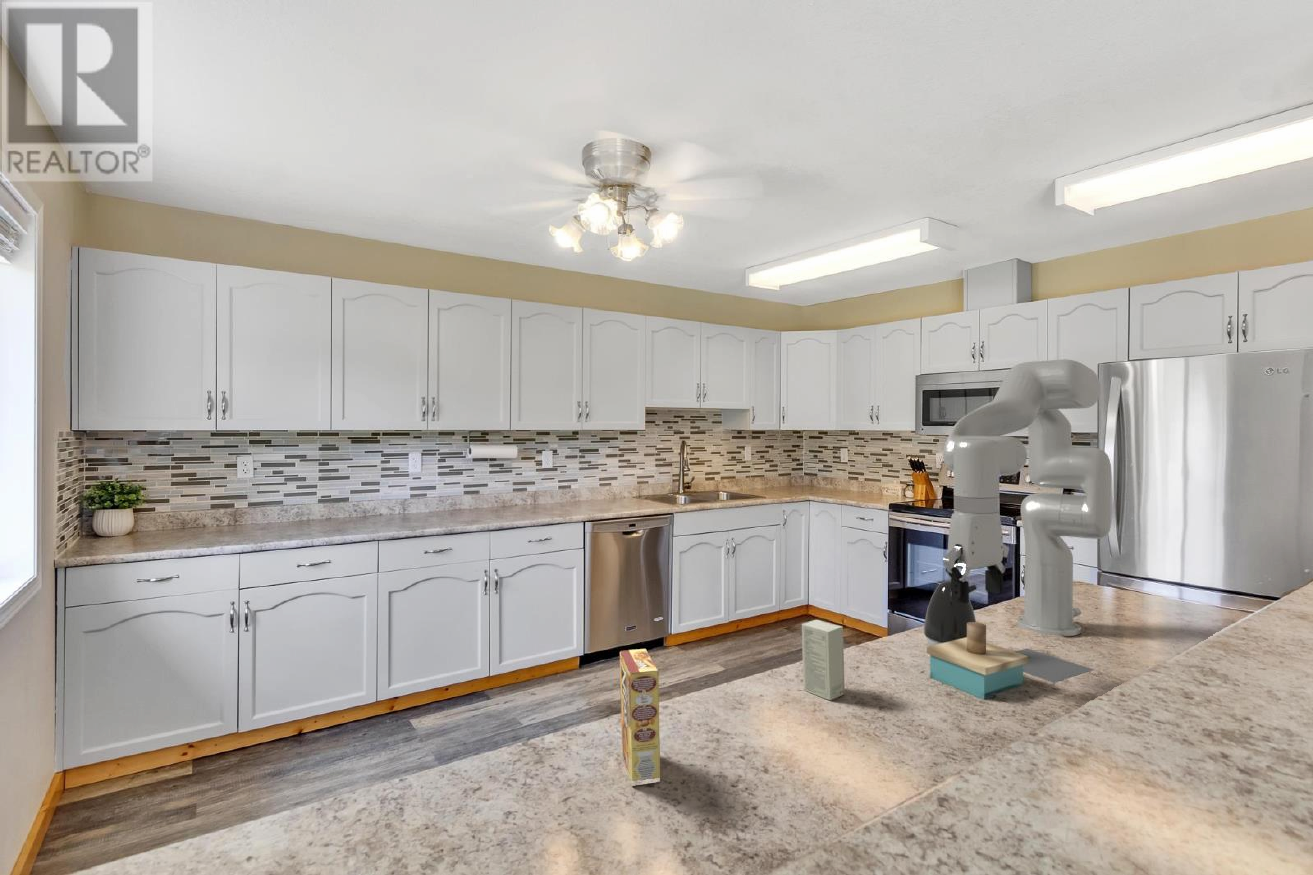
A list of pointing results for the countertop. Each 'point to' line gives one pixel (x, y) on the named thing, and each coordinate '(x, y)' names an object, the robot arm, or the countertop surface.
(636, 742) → the candy box
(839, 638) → the skincare box
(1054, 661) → the mat
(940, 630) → the pump dispenser
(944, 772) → the countertop surface
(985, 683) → the dish
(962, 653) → the lid
